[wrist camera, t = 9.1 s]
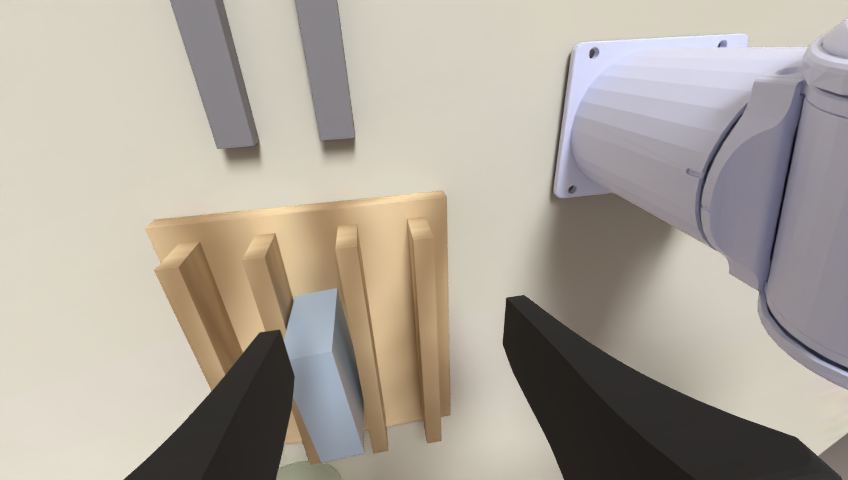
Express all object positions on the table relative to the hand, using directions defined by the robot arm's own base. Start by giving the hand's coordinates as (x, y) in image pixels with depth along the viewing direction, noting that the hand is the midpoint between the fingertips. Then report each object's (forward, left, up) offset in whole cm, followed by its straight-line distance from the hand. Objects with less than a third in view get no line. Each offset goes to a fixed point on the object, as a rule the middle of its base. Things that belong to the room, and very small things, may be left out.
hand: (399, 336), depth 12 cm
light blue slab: (+4, +8, -9) cm, 13 cm away
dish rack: (+4, +8, -10) cm, 13 cm away
